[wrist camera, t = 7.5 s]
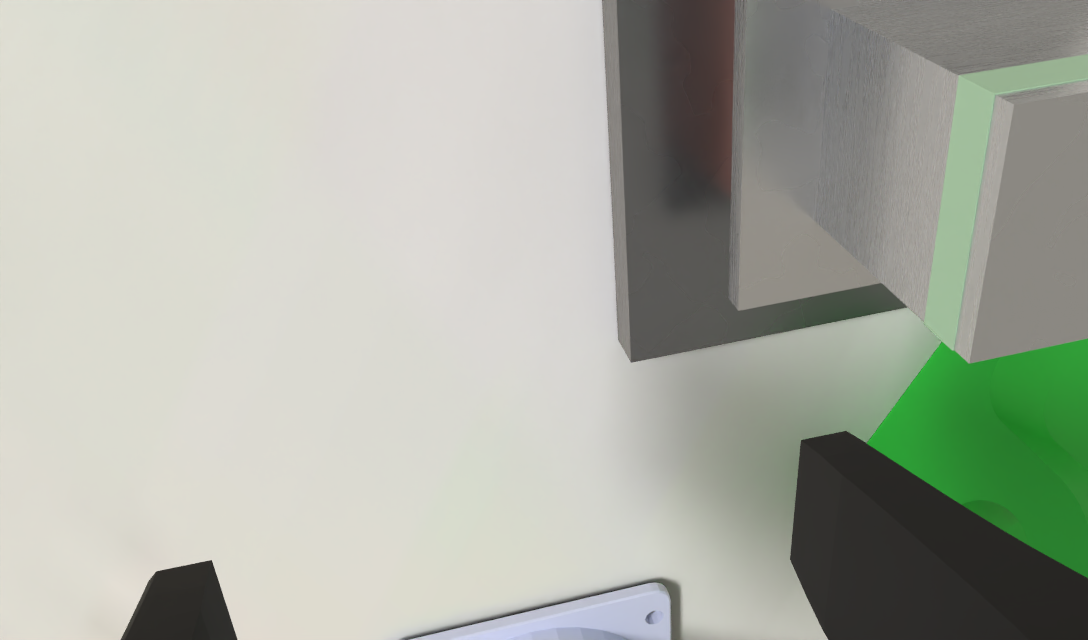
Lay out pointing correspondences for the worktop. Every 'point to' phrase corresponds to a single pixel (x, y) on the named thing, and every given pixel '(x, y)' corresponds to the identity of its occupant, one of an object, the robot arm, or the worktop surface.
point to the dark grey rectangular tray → (722, 174)
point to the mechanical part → (1003, 442)
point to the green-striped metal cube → (964, 164)
